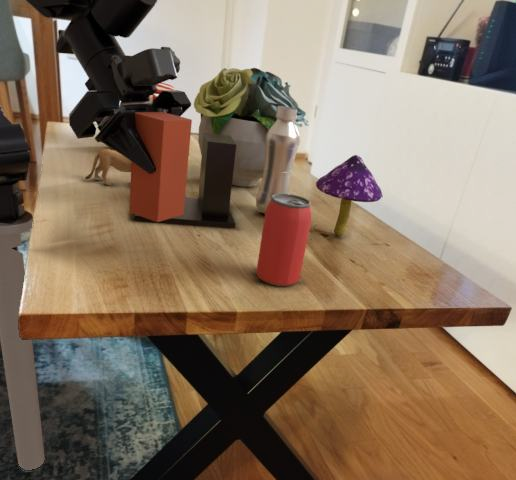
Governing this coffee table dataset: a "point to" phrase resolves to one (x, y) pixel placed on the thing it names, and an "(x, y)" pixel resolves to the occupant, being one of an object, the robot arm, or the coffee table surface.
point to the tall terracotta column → (161, 166)
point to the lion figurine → (106, 160)
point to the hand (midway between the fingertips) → (168, 168)
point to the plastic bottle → (278, 156)
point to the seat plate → (210, 186)
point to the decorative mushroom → (349, 187)
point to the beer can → (284, 239)
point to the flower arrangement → (244, 115)
